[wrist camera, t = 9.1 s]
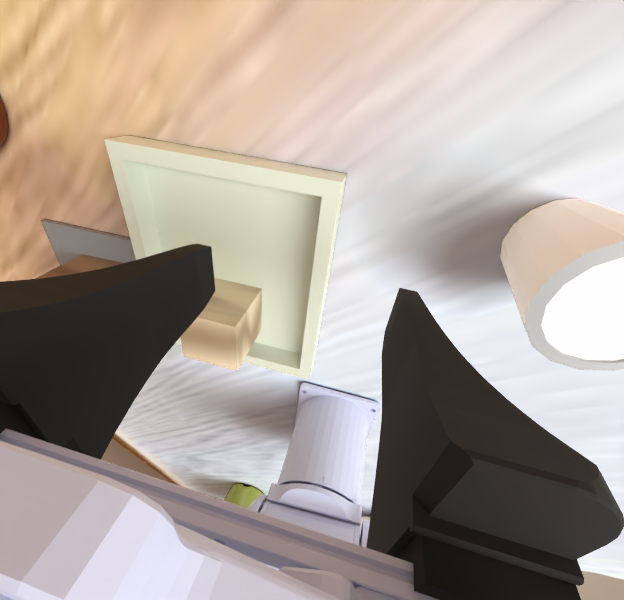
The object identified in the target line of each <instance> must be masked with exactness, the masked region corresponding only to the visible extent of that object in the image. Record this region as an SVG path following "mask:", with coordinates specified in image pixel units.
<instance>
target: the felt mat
mask: <svg viewBox="0 0 624 600" xmlns="http://www.w3.org/2000/svg"><path fill="white" fill-rule="evenodd" d="M41 222H42V224H43V227H44V229H45V231H46V234H47V236H48V238H49V240H50V243H51V245H52V247H53V250H54V252H55V254H56V257H57V259H58V261H59V263H60V266H61V265H63V264H65V263H67V262H69V261H71V260H73V259H75V258H76V257H78V256H80V255H82V254H83V255H88V256H93V257H98V258H103V259H107V260H112V261H117V262H122V263H126V262H130V261H134V260H136V258H135V254H134V250H133V247H132V243H131V239H130V238H128V237H124V236H119V235H115V234H110V233H106V232H101V231H97V230H92V229H88V228H83V227H79V226H75V225H70V224H66V223H61V222H57V221H52V220H48V219H44V220H41Z"/></svg>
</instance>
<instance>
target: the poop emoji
mask: <svg viewBox="0 0 624 600" xmlns="http://www.w3.org/2000/svg"><path fill="white" fill-rule="evenodd" d="M7 131H8V122H7V116H6V112H5V108H4V105H3V103H2V100H1V98H0V146H1V145H2V144H3V142H4V141H5V139H6V136H7Z"/></svg>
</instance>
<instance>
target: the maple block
mask: <svg viewBox="0 0 624 600" xmlns="http://www.w3.org/2000/svg"><path fill="white" fill-rule="evenodd" d="M214 281H215V292H214V294H213V296H212V297H211V299H210V301H209V302H208V304H207V305H206V307H205V308H204V310H203V311H202V312H201V314H200V315H199V316H198V317H197V318H196V320H195V321H194V322H193V323H192V324H191V325H190V326H189V328H188V329H187V330H186V331H185V332H184V333H183V335H182V336H181V337H180V338H181V343H182V348H183V353H184V356H185V357H188V358H192V359H196V360H199V361H203V362H207V363H210V364H214V365H218V366H221V367H225V368H229V369H232V370H236V371H238V369H239V367H240V366H241V364H242V362H243V361H244V359H245V357H246V355H247V354H248V352H249V350H250V348H251V347H252V345H253V343H254V342H255V340H256V338H257V336H258V335H259V333H260V331H261V317H262V289H261V288H257V287H252V286H248V285H244V284H240V283H235V282H231V281H227V280H222V279H218V278H214Z"/></svg>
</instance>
